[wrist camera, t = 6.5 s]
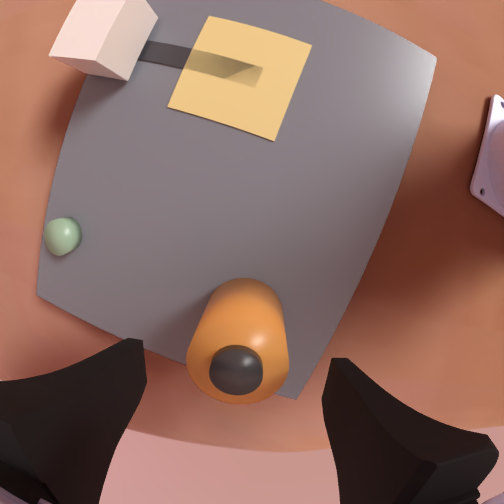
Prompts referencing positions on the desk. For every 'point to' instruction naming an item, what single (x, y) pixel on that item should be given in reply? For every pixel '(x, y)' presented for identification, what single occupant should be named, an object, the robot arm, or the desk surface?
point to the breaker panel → (233, 171)
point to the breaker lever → (104, 36)
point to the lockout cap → (240, 344)
